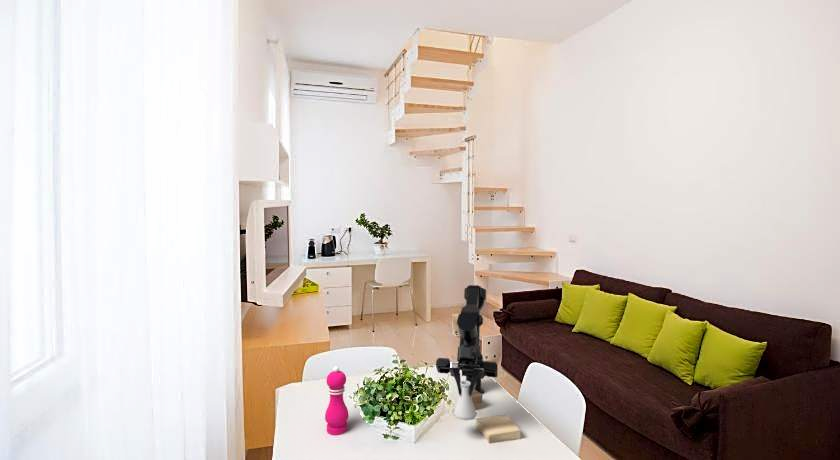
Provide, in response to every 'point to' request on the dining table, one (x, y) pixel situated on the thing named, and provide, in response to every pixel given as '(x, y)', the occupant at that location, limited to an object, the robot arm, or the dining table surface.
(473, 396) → the walnut cube
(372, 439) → the dining table surface
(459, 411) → the flask
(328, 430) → the pepper mill
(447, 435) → the dining table surface
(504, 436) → the oak block
